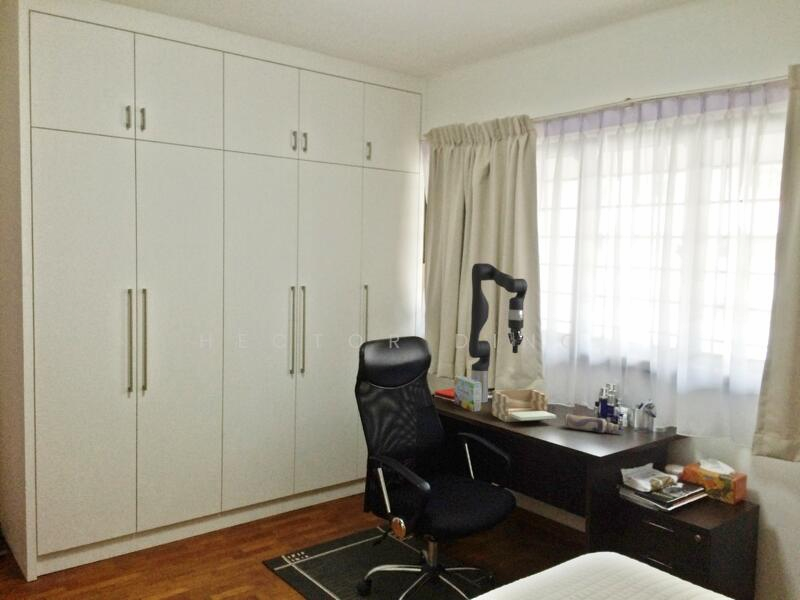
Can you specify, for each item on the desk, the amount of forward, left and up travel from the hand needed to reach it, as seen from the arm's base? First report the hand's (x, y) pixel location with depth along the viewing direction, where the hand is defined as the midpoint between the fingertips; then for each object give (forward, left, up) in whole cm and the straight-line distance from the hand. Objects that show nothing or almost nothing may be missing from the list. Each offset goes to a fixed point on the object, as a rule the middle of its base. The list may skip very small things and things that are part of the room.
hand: (515, 353), depth 337 cm
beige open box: (+6, 0, -31) cm, 32 cm away
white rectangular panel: (+14, 0, -28) cm, 31 cm away
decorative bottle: (+39, +20, -31) cm, 54 cm away
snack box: (-20, -17, -31) cm, 41 cm away
